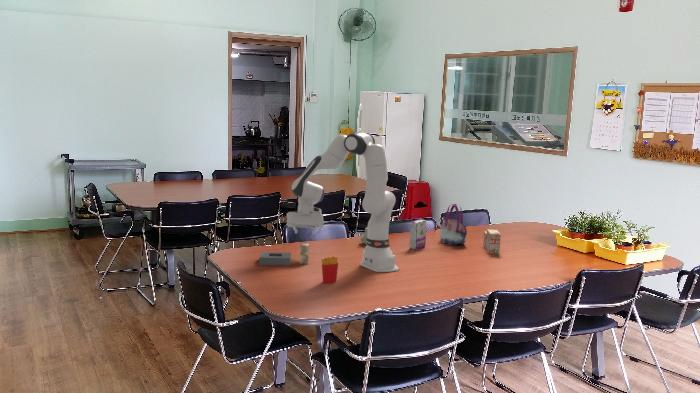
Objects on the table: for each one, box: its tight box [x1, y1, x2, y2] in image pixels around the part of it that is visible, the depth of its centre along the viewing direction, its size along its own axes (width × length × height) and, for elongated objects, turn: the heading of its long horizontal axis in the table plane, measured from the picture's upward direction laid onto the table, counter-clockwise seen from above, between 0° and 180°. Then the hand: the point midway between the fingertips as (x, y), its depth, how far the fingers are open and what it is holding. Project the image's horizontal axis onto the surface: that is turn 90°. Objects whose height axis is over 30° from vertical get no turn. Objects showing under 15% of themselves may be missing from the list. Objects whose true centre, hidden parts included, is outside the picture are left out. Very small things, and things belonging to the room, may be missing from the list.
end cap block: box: [258, 251, 292, 267], centre depth 309 cm, size 16×12×4 cm
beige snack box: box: [483, 228, 502, 255], centre depth 357 cm, size 21×6×12 cm, turn 176°
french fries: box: [321, 256, 339, 284], centre depth 277 cm, size 8×4×12 cm, turn 124°
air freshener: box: [360, 226, 368, 246], centre depth 359 cm, size 11×8×10 cm
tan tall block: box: [299, 243, 310, 265], centre depth 310 cm, size 4×4×10 cm
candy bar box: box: [409, 219, 427, 250], centre depth 354 cm, size 11×5×16 cm, turn 143°
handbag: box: [439, 203, 468, 246], centre depth 369 cm, size 21×10×25 cm, turn 37°
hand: (304, 233), depth 318 cm, fingers open, 8 cm apart
